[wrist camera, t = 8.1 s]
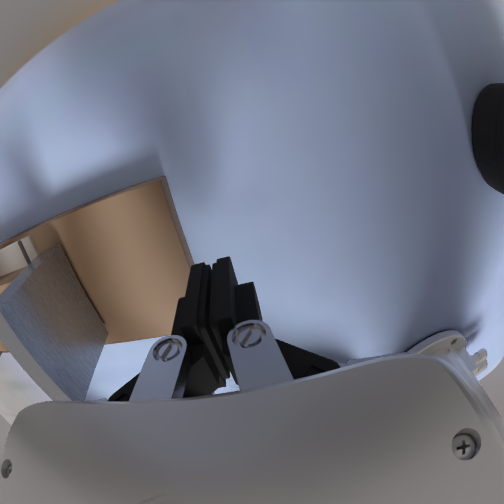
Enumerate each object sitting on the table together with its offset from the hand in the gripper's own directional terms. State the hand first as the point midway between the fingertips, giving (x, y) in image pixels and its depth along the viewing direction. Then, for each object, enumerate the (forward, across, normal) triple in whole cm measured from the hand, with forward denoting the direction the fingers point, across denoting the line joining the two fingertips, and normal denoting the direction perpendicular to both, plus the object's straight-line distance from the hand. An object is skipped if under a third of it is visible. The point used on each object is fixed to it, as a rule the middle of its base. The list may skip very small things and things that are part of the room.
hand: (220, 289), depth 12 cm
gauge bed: (+4, +14, 0) cm, 14 cm away
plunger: (+2, +15, -1) cm, 15 cm away
